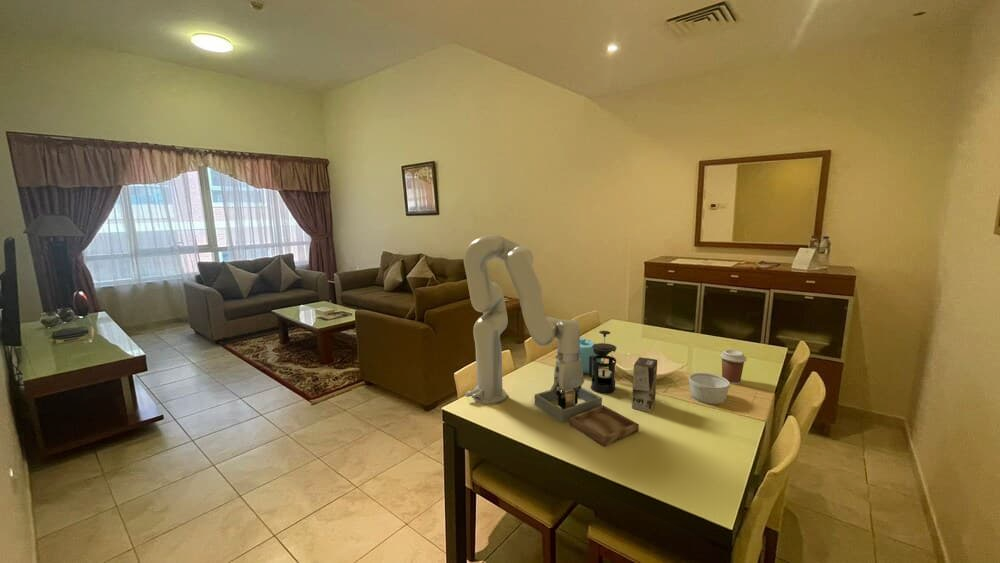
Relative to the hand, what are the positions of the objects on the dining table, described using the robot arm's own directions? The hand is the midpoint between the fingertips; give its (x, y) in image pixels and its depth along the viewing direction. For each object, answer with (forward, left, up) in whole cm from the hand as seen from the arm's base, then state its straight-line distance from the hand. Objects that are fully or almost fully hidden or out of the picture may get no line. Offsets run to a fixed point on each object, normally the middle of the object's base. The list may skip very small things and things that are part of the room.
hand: (567, 404), depth 143 cm
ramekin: (+47, -23, -1) cm, 52 cm away
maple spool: (0, 0, -1) cm, 1 cm away
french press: (+21, +4, -1) cm, 21 cm away
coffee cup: (+68, -20, -1) cm, 71 cm away
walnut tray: (0, -17, -1) cm, 17 cm away
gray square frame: (0, 0, -1) cm, 1 cm away
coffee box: (+23, -14, -1) cm, 27 cm away
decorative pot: (+28, +23, -1) cm, 36 cm away
